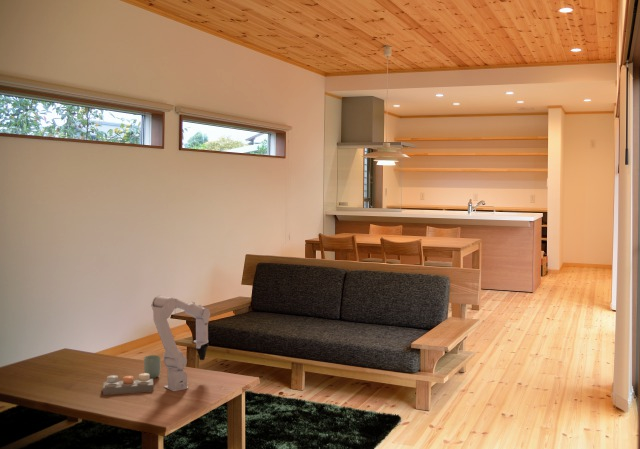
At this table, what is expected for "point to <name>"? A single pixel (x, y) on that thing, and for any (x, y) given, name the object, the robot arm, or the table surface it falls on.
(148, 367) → the cup
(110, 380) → the light grey button
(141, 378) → the cream button
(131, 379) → the terracotta button
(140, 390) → the console
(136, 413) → the table surface
